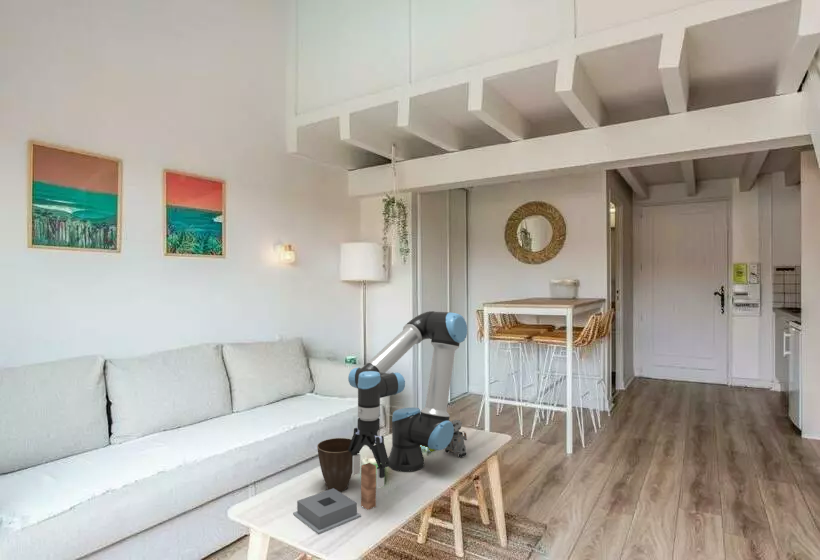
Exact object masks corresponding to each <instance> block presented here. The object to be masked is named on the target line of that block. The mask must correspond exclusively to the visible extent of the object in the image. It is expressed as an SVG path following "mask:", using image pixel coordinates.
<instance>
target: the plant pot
mask: <svg viewBox="0 0 820 560" xmlns="http://www.w3.org/2000/svg"><path fill="white" fill-rule="evenodd" d="M351 440H352V438H345V437H335V438H329V439H328V438H327V439H325V440H322V441H321V442H318V444H317V446H316V447H317V455H318V461H319V462H318V463H319V467H320V470H321V474H322V477H323V481H324V483H325V486H326V489H327V490H330V489H332V488H334V489H336V490H337V491H339V492H344V491H345V490H346V489H348V488H349V487H348V486H349V484H350V481H351V479H352V475H353V474H352V466H353V464H352V454H351V452H349V451H348V448H349V446H350V443H351Z"/></svg>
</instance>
